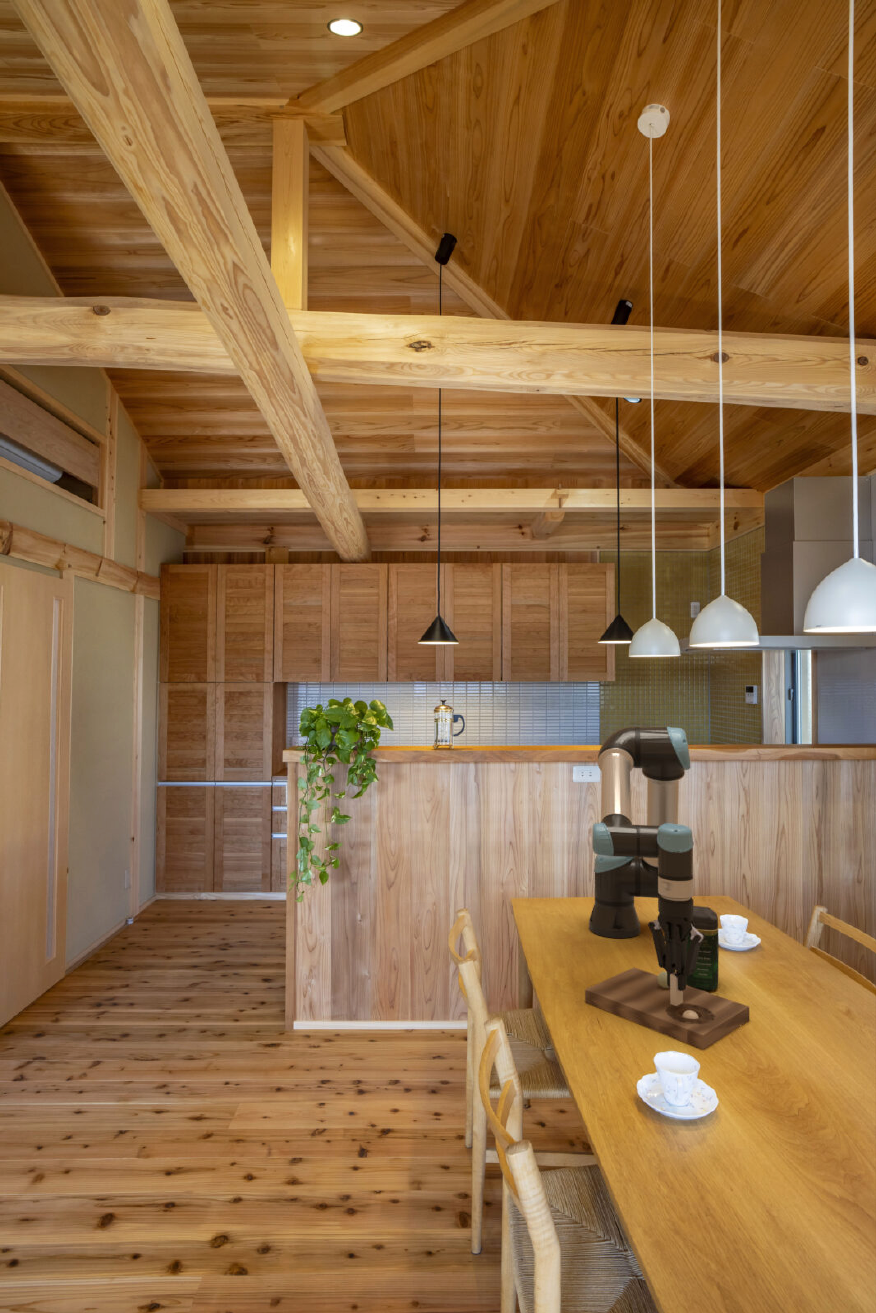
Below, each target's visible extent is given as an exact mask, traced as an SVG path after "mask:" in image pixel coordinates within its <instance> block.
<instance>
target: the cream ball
mask: <svg viewBox="0 0 876 1313" xmlns="http://www.w3.org/2000/svg"><path fill="white" fill-rule="evenodd" d="M682 1016H683V1017H685V1018H690V1019H697V1018H699V1017H698V1015H697V1013H696V1012H694V1011H692V1010H687V1011H685V1012H684V1013H683V1015H682Z"/></svg>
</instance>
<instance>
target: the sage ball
mask: <svg viewBox="0 0 876 1313" xmlns="http://www.w3.org/2000/svg"><path fill="white" fill-rule="evenodd" d="M657 975H658V977H657V981H658V984H659V985H660V986H661V987H663V988H669V987H668V985H667V972H666V971H661V972H660V973H658V974H657Z"/></svg>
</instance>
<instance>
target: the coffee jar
mask: <svg viewBox="0 0 876 1313" xmlns="http://www.w3.org/2000/svg"><path fill="white" fill-rule="evenodd" d="M693 922H694V924H695V929H696V930H697V931H698V932H699V933H704V934H705V938H704V939H703V941H702V942H701V945H700V949H699V954H698V958H697V962H696V967H695V971H694V973H692V974H690V975H688V976H686V985H687V986H690V987H693V988H696V989H699V990H702V991H705V992H707V991H716V990H717V989H718V987H719V954H720V953H719V950H720V949H719V947H720V945H719V942H720V940H719V918H718V914H717V913H716V911H714V910H713V909H711V907H707V906H701V905H694V914H693ZM691 941H692V940H691V934H690V935H689V936H688V942H687V955H688V950H689V946H690V943H691Z"/></svg>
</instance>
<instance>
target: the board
mask: <svg viewBox="0 0 876 1313" xmlns="http://www.w3.org/2000/svg"><path fill="white" fill-rule="evenodd" d="M658 975H659V974H654V973H652V972H649V971H646V970H643V969H639V968H637V967H632V968H629V969H627V970H625V971H623V972H621V973H619V974H616V975H614V976H612V977H609V978H607V979H605V980H603V981H601V982H598V983H597V984H594V985H592V986H589V987H587V988H586V989H584V1003H585V1004H588V1005H591V1006H594V1007H596V1008H598V1009H600V1010H603V1011H606V1012H607V1013H610V1012H611V1013H610V1014H612V1015H616V1016H618V1017H620V1016H621V1017H620V1018H623V1017H624V1018H623V1019H625V1018H626V1019H625V1020H627V1019H628V1020H627V1021H630V1022H632V1021H633V1023H636V1024H638V1025H640V1026H642V1025H643V1026H642V1027H645V1026H646V1027H645V1028H647V1027H648V1028H647V1029H650V1030H653V1031H655V1032H657V1031H658V1033H661V1034H662V1035H665V1034H666V1035H665V1036H667V1035H668V1036H667V1037H671V1038H673V1039H675V1040H678V1041H679V1042H683V1043H685V1044H687V1045H689V1046H692V1047H695V1048H697V1049H699V1050H702V1051H705V1050H706V1049H707V1048H709V1047H710V1046H712V1045H714V1044H715V1043H717V1042H718V1041H720V1040H721V1039H723V1038H724V1037H726V1036H728V1035H729V1034H731V1033H732V1032H733V1031H735V1030H737V1029H738V1028H740V1027H741V1026H743V1025H745V1024H746V1023H748V1022H749V1021H750V1006H749V1005H745V1004H743V1003H739V1002H737V1001H734V1000H732V999H728V998H726V997H722V996H720V995H716V994H714V993H710V992H707V991H702V990H699V989H696V988H693V987H690V986H687V984H686V989H685V990H683V1003H681V1004H679V1005H678V1006H675V1005H672V1004H670V987H669V988H663V987H661V986H660V985H659V984H658V981H657V977H658ZM687 1010H692V1011H694V1012H696V1013H697V1015H698V1017H699V1018H697V1019H690V1018H685V1017H683V1016H682V1015H683V1013H684V1012H685V1011H687ZM740 1025H741V1026H740Z"/></svg>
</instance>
